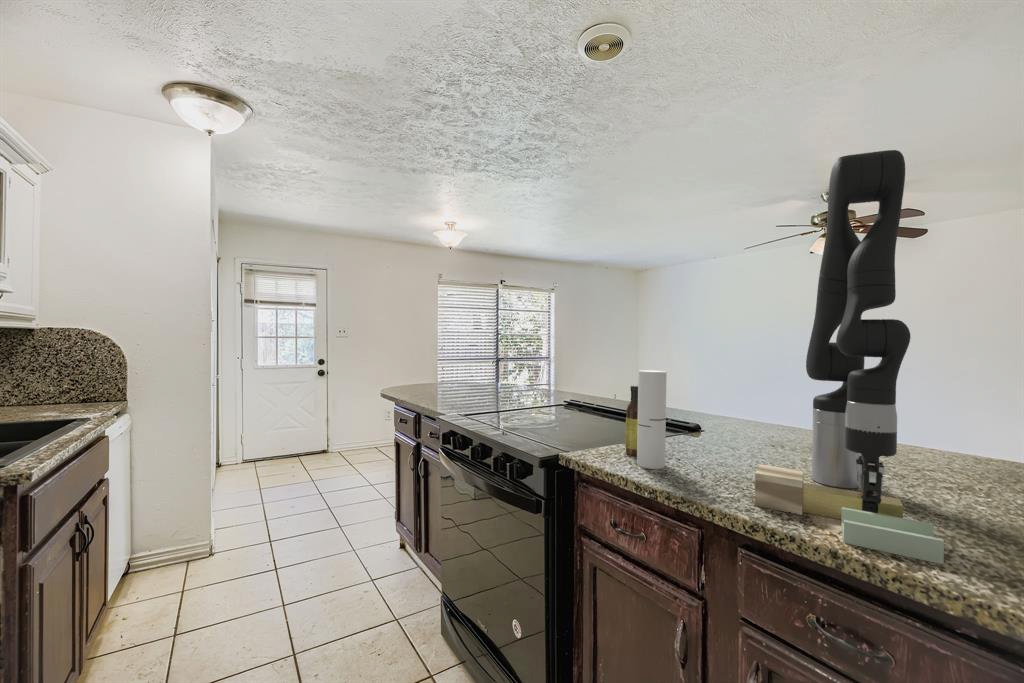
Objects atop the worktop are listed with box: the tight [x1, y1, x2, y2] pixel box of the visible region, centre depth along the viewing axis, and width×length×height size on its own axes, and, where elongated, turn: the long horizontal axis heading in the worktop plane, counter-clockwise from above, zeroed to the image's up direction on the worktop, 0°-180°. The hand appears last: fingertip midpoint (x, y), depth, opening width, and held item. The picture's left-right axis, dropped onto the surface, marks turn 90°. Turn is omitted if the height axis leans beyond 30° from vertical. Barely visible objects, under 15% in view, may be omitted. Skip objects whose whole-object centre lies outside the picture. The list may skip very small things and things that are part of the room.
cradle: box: [840, 507, 945, 565], centre depth 73 cm, size 8×12×4 cm, turn 55°
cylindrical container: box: [636, 369, 668, 470], centre depth 118 cm, size 7×7×25 cm
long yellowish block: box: [802, 482, 904, 521], centre depth 85 cm, size 4×18×4 cm, turn 55°
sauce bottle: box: [624, 385, 638, 457], centre depth 129 cm, size 7×6×20 cm
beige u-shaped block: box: [754, 463, 804, 516], centre depth 90 cm, size 8×8×7 cm
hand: (868, 517), depth 82 cm, fingers closed on long yellowish block, 4 cm apart
